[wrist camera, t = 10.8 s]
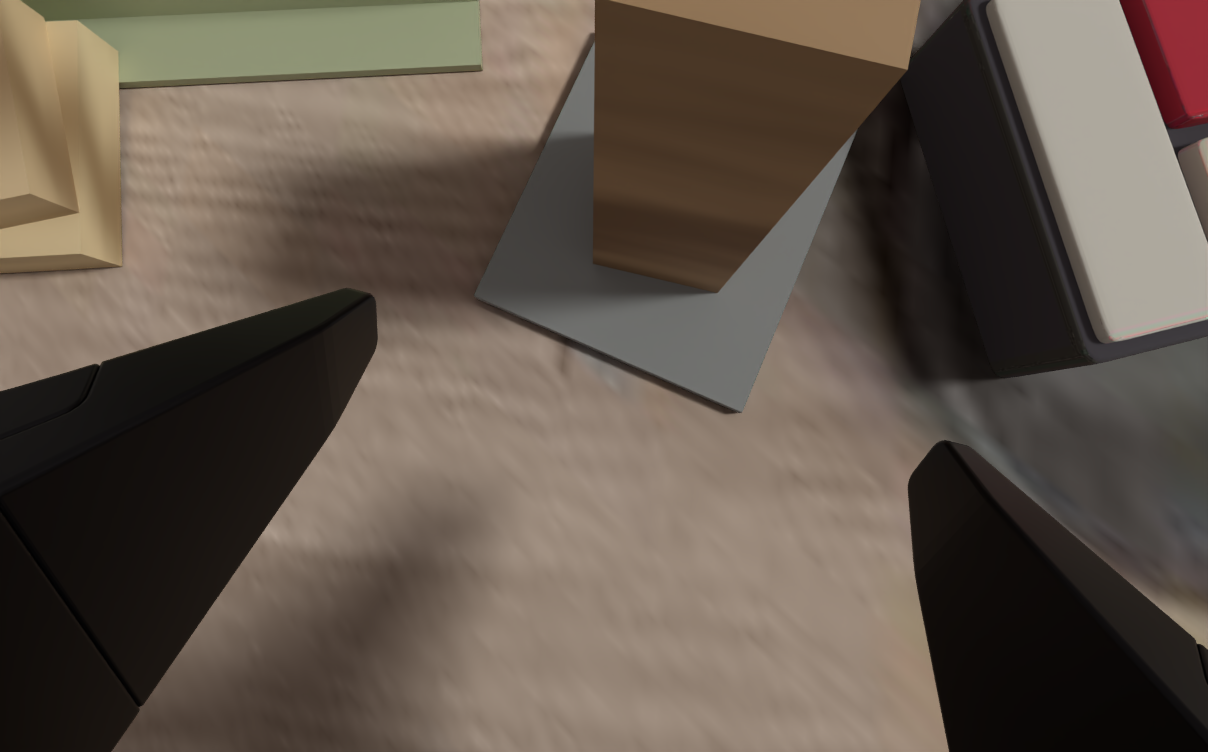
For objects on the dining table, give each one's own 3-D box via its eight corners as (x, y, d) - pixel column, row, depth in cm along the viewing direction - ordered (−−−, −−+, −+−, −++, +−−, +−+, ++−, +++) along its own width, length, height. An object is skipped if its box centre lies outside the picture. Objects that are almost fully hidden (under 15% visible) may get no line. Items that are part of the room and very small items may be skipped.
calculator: (1599, 240, 16) (1115, 362, 14) (1380, 284, 20) (989, 382, 19) (1445, -113, 17) (981, -32, 16) (1268, -1, 21) (891, 71, 20)
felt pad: (738, 413, 18) (742, 412, 18) (476, 298, 18) (473, 295, 18) (851, 136, 19) (857, 130, 19) (603, 31, 20) (603, 23, 19)
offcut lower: (122, 266, 18) (80, 253, 17) (-42, 275, 18) (-99, 263, 17) (118, 51, 19) (77, 20, 17) (-43, 59, 19) (-98, 28, 17)
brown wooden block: (717, 293, 18) (907, 69, 7) (592, 263, 18) (595, -3, 7) (746, 159, 19) (964, -238, 8) (625, 131, 19) (672, -304, 8)
